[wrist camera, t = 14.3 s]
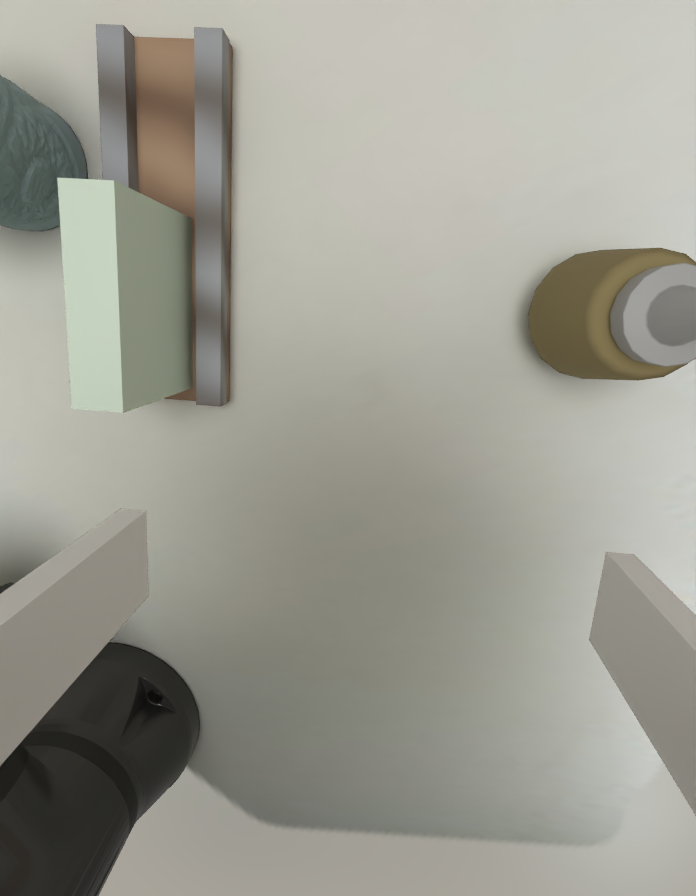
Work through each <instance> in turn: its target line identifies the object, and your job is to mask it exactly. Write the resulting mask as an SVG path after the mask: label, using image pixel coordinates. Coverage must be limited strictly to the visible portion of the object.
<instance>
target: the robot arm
mask: <svg viewBox="0 0 696 896" xmlns="http://www.w3.org/2000/svg"><path fill="white" fill-rule="evenodd" d="M148 596H149V590H148V556H147V523H146V511H142V510H131V509H120V510H118V511H117V512H115V513H114V514H112V515H111V516H110V517H108V518H107V519H105V520H104V521H103V522H101V523H100V524H98V525H97V526H96V527H94V528H93V529H91V530H90V531H88V532H87V533H86V534H84V535H83V536H81V537H80V538H79V539H77V540H76V541H74V542H73V543H71V544H70V545H69V546H67V547H66V548H64V549H63V550H62V551H60V552H59V553H57V554H56V555H55V556H53V557H52V558H50V559H49V560H47V561H46V562H45V563H43V564H42V565H40V566H39V567H38V568H36V569H35V570H33V571H32V572H30V573H29V574H28V575H26V576H25V577H23V578H22V579H21V580H19V581H18V582H16V583H9V584H6V585H4V586H1V587H0V896H99V894H100V892H101V890H102V888H103V886H104V884H105V882H106V880H107V878H108V876H109V874H110V872H111V870H112V868H113V866H114V864H115V862H116V860H117V858H118V856H119V854H120V852H121V850H122V848H123V846H124V844H125V841H126V839H127V838H128V836H129V834H130V832H131V830H132V828H133V826H134V824H135V822H136V821H137V820H138V819H139V818H140V817H141V816H142V815H143V814H144V813H145V812H146V811H147V810H148V809H149V808H150V807H151V806H152V805H153V804H154V803H155V802H156V801H157V799H159V797H161V795H162V794H163V793H164V792H165V791H166V790H167V789H168V788H169V787H171V786H172V785H173V783H174V782H175V781H176V780H177V779H178V778H179V776H180V775H181V773H182V772H183V770H184V769H185V767H186V765H187V763H188V761H189V759H190V756H191V754H192V752H193V750H194V748H195V745H196V742H197V738H198V733H199V718H198V712H197V708H196V705H195V702H194V699H193V697H192V695H191V693H190V691H189V689H188V688H187V686H186V685H185V683H184V682H183V681H182V679H181V678H180V677H179V676H178V675H177V674H176V673H175V672H174V671H173V670H172V669H171V668H170V667H169V666H168V665H166V664H165V663H164V662H162V661H161V660H159V659H158V658H156V657H154V656H153V655H151V654H149V653H147V652H145V651H142V650H140V649H137V648H134V647H130V646H127V645H122V644H114V643H108V642H109V641H110V640H111V639H112V637H113V636H114V635H115V634H116V633H117V632H118V631H119V629H120V628H121V627H122V626H123V625H124V624H125V622H126V621H127V620H128V619H129V618H130V617H131V616H132V614H133V613H134V612H135V611H136V610H137V609H138V608H139V606H140V605H141V604H142V603H143V602H144V601H145V600H146V598H147V597H148ZM589 640H590V642H591V644H592V645H593V647H594V649H595V650H596V652H597V654H598V655H599V657H600V659H601V660H602V662H603V664H604V665H605V667H606V668H607V670H608V672H609V673H610V675H611V677H612V678H613V680H614V682H615V683H616V685H617V687H618V688H619V690H620V692H621V693H622V695H623V697H624V698H625V700H626V701H627V703H628V705H629V706H630V708H631V710H632V711H633V713H634V715H635V716H636V718H637V720H638V721H639V723H640V725H641V726H642V728H643V729H644V731H645V733H646V734H647V736H648V738H649V739H650V741H651V743H652V744H653V746H654V748H655V749H656V751H657V753H658V754H659V756H660V758H661V759H662V761H663V762H664V764H665V766H666V767H667V769H668V771H669V772H670V774H671V775H672V777H673V779H674V780H675V782H676V784H677V786H678V787H679V789H680V790H681V792H682V794H683V795H684V797H685V799H686V800H687V802H688V804H689V805H690V807H691V808H692V810H693V812H694V813H695V815H696V615H695V614H694V613H693V612H692V611H691V610H690V609H689V608H688V607H687V606H686V605H685V604H684V603H683V602H682V601H681V600H680V599H679V598H678V597H677V596H676V595H675V594H674V593H673V592H672V591H671V590H670V589H669V588H668V587H667V586H666V585H665V584H664V583H663V582H662V581H661V580H660V579H659V578H658V577H657V576H656V575H655V574H654V573H653V572H652V571H651V570H650V569H649V568H648V567H647V566H645V565H644V564H643V563H642V562H641V561H640V560H639V559H638V558H637V557H636V556H635V555H634V554H623V553H611V552H606V555H605V560H604V565H603V570H602V575H601V581H600V586H599V591H598V596H597V601H596V607H595V612H594V617H593V622H592V627H591V633H590V638H589Z"/></svg>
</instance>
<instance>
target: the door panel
mask: <svg viewBox="0 0 696 896" xmlns="http://www.w3.org/2000/svg"><path fill="white" fill-rule="evenodd" d="M57 181H58V197H59V213H60V229H61V245H62V261H63V277H64V294H65V310H66V326H67V342H68V358H69V374H70V390H71V406H72V409H81V410H94V411H106V412H119V413H124V412H127V411H129V410H132V409H135V408H138V407H141V406H143V405H146V404H149V403H152V402H155V401H157V400H160V399H163V398H166V397H169V396H171V395H174V394H177V393H180V392H183V391H185V390H188V389H191V388H193V302H192V218H190V217H188V216H186V215H184V214H182V213H180V212H178V211H176V210H174V209H172V208H170V207H168V206H165V205H163V204H161V203H159V202H157V201H155V200H153V199H151V198H149V197H147V196H145V195H143V194H141V193H139V192H137V191H135V190H133V189H131V188H129V187H126V186H124V185H122V184H120V183H118V182H116V181H114V180H95V179H75V178H57Z"/></svg>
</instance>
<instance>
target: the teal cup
mask: <svg viewBox="0 0 696 896" xmlns="http://www.w3.org/2000/svg"><path fill="white" fill-rule="evenodd" d="M57 178H75V179H87V167H86V160H85V156H84V153H83V150H82V147H81V145H80V143H79V141H78V139H77V137H76V136H75V134H74V132H73V131H72V129H71V128H70V127H69V125H68V124H67V123H66V122H65V121H64V120H63V119H62V118H61V117H60V116H59V115H58V114H56V113H55V112H54V111H52V110H51V109H49V108H48V107H46V106H45V105H43V104H42V103H40V102H38V101H37V100H36V99H34V98H33V97H32V96H30V95H29V94H28V93H26V92H25V91H24V90H22V89H21V88H19V87H18V86H17V85H15V84H14V83H13V82H11V81H10V80H8V79H6V78H3V77H2V76H1V75H0V225H2V226H5V227H8V228H12V229H19V230H28V231H44V230H48V229H53V228H54V227H56V226H59V225H60V213H59V197H58V181H57Z"/></svg>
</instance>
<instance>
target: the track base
mask: <svg viewBox="0 0 696 896" xmlns="http://www.w3.org/2000/svg"><path fill="white" fill-rule="evenodd" d="M96 38H97V61H98V84H99V107H100V130H101V153H102V176H103V180H114V181H116V182H118V183H120V184H122V185H124V186H126V187H129V188H131V189H133V190H135V191H137V192H139V193H141V194H143V195H145V196H147V197H149V198H151V199H153V200H155V201H157V202H159V203H161V204H163V205H165V206H168V207H170V208H172V209H174V210H176V211H178V212H180V213H182V214H184V215H186V216H188V217H190V218H192V302H193V388H191V389H188V390H185V391H183V392H180V393H177V394H174V395H171V396H169V397H166V398H164V399H178V400H191V401H196V405H209V406H222V405H224V404H226V402H228V401H229V345H230V235H231V125H232V46H231V44H230V43H229V39H228V37H227V35H226V34H225V32H224V30H223V29H222V28H201V27H194V39H183V38H152V37H134V36H133V35H132V34H131V33H130V32H129V31H128V30H127V29H126V27H125V26H124V25H105V24H96Z"/></svg>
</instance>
